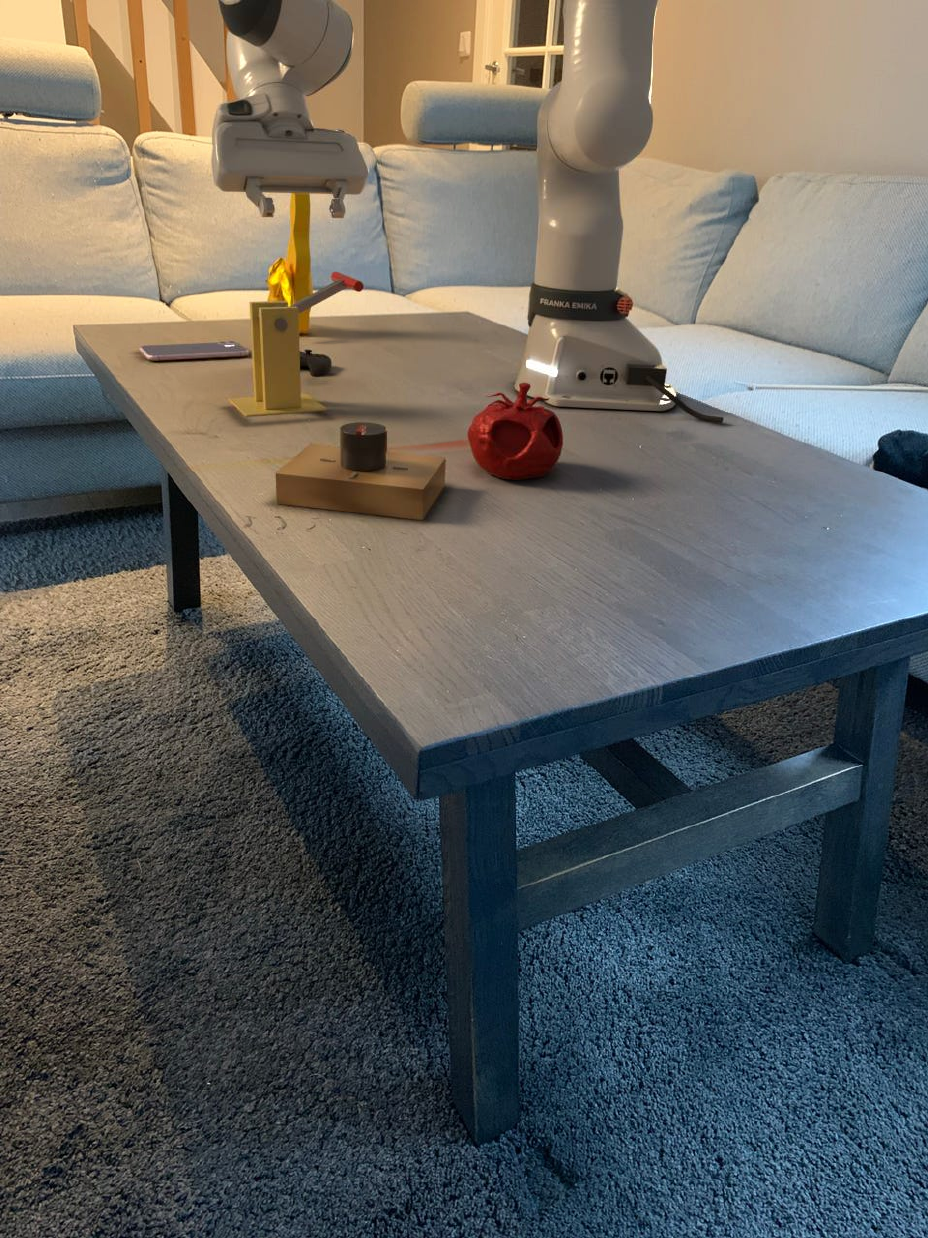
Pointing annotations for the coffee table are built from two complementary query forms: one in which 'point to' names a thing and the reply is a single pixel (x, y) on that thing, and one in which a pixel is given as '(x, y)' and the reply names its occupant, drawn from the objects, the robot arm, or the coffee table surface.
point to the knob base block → (361, 483)
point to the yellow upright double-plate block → (275, 363)
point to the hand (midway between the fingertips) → (304, 214)
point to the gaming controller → (315, 363)
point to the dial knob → (363, 446)
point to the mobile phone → (193, 351)
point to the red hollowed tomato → (516, 437)
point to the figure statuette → (294, 261)
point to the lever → (328, 291)
